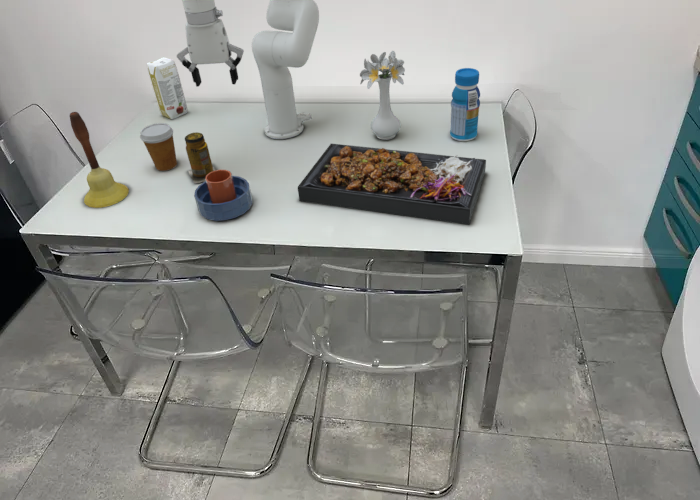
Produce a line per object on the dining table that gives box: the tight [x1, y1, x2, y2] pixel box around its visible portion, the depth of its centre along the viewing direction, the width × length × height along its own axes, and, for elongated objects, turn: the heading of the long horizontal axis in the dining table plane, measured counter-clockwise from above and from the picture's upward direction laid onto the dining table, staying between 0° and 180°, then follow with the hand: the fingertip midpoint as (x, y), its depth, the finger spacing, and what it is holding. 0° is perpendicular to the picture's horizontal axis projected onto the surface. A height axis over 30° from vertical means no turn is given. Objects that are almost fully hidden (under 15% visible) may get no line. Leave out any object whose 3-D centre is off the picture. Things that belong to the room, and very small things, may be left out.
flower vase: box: [359, 50, 406, 141], centre depth 169 cm, size 13×18×25 cm
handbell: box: [69, 111, 130, 209], centre depth 152 cm, size 12×12×25 cm
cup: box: [205, 169, 237, 204], centre depth 147 cm, size 7×7×9 cm
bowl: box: [193, 174, 253, 222], centre depth 149 cm, size 14×14×6 cm
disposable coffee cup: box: [139, 122, 178, 172], centre depth 167 cm, size 10×10×12 cm
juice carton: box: [146, 56, 189, 120], centre depth 195 cm, size 8×9×19 cm
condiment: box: [184, 131, 216, 184], centre depth 161 cm, size 7×8×12 cm
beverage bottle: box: [449, 67, 481, 142], centre depth 166 cm, size 8×8×20 cm
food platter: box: [297, 143, 487, 225], centre depth 149 cm, size 45×25×10 cm, turn 71°
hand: (216, 83), depth 150 cm, fingers open, 9 cm apart
